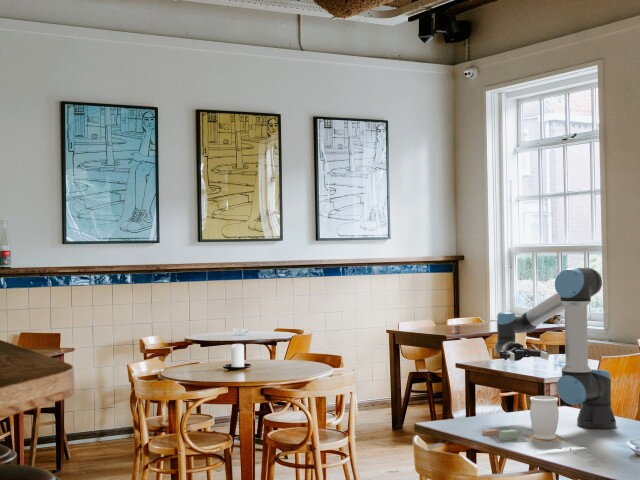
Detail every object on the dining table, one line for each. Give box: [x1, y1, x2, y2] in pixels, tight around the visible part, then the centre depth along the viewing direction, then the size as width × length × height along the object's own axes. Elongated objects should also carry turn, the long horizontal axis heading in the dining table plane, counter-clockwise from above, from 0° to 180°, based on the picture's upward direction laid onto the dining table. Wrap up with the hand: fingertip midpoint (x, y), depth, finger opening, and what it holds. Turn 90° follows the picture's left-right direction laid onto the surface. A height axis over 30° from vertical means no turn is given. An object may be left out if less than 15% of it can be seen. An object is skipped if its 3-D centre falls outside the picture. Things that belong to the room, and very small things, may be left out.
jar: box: [529, 395, 560, 440], centre depth 307 cm, size 11×10×15 cm
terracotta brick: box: [481, 428, 501, 437], centre depth 314 cm, size 6×3×3 cm, turn 109°
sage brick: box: [498, 429, 518, 440], centre depth 306 cm, size 6×3×3 cm, turn 114°
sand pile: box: [522, 433, 568, 443], centre depth 307 cm, size 13×12×1 cm
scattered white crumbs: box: [569, 448, 617, 469], centre depth 278 cm, size 7×25×2 cm, turn 1°
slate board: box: [488, 434, 530, 444], centre depth 306 cm, size 12×12×1 cm
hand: (530, 356), depth 322 cm, fingers open, 13 cm apart
